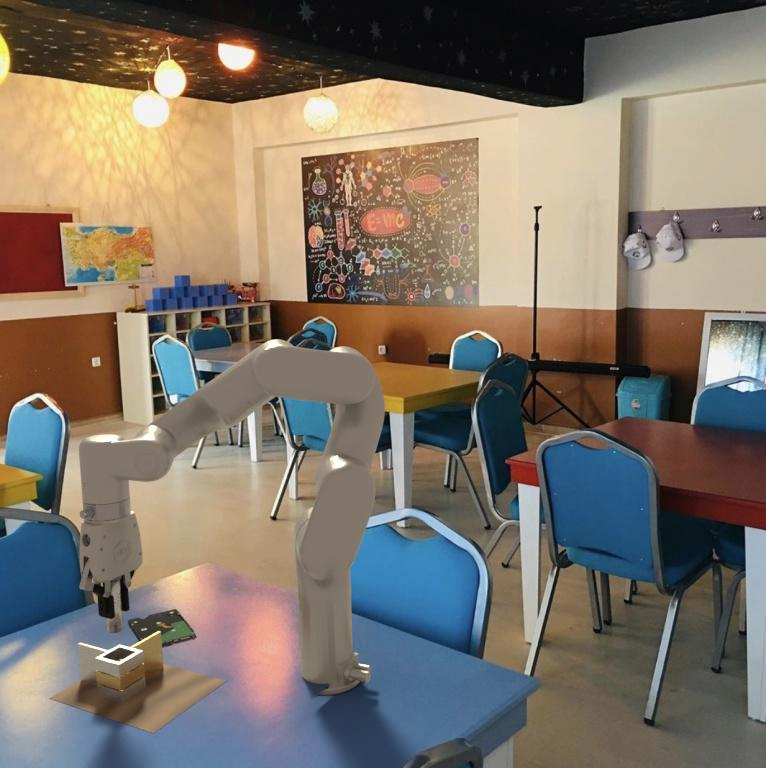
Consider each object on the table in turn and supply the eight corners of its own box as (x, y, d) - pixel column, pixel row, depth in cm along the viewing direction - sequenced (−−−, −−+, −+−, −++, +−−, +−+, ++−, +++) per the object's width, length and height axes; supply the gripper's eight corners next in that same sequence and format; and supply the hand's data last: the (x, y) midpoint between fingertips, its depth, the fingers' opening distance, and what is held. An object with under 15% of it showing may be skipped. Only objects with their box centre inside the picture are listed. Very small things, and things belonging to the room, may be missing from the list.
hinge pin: (129, 628, 143) (125, 572, 141) (115, 635, 140) (111, 578, 138) (115, 624, 144) (111, 569, 143) (101, 631, 141) (97, 575, 140)
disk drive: (127, 632, 172) (146, 660, 159) (126, 619, 171) (145, 646, 159) (176, 620, 177) (199, 646, 164) (176, 607, 177) (198, 632, 164)
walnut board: (227, 689, 147) (226, 681, 147) (154, 741, 131) (153, 733, 131) (127, 660, 158) (127, 653, 158) (49, 706, 143) (49, 698, 142)
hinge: (173, 670, 151) (171, 634, 150) (121, 703, 140) (118, 665, 139) (123, 656, 157) (120, 621, 156) (69, 687, 146) (66, 649, 145)
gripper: (84, 526, 130) (92, 637, 133) (158, 499, 144) (164, 600, 147) (51, 519, 133) (60, 627, 136) (126, 494, 147) (133, 592, 150)
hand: (114, 612), depth 141 cm, fingers closed on hinge pin, 2 cm apart
